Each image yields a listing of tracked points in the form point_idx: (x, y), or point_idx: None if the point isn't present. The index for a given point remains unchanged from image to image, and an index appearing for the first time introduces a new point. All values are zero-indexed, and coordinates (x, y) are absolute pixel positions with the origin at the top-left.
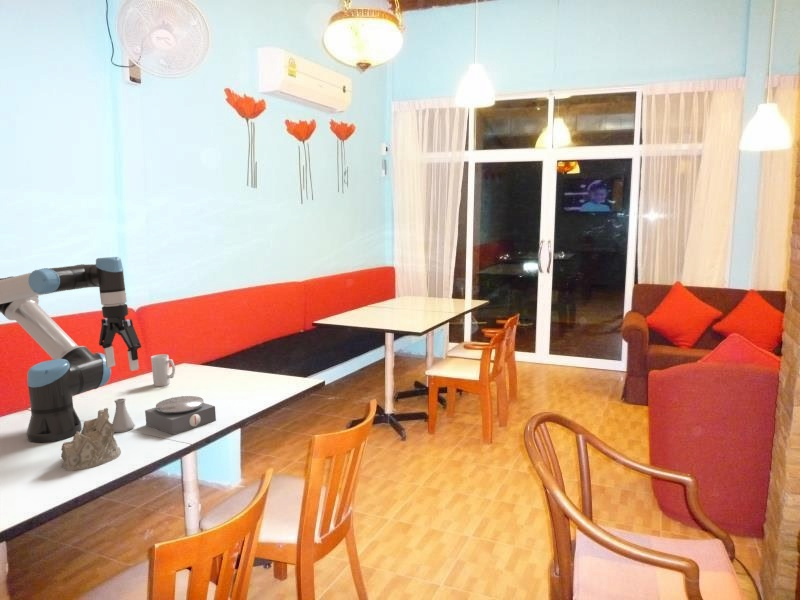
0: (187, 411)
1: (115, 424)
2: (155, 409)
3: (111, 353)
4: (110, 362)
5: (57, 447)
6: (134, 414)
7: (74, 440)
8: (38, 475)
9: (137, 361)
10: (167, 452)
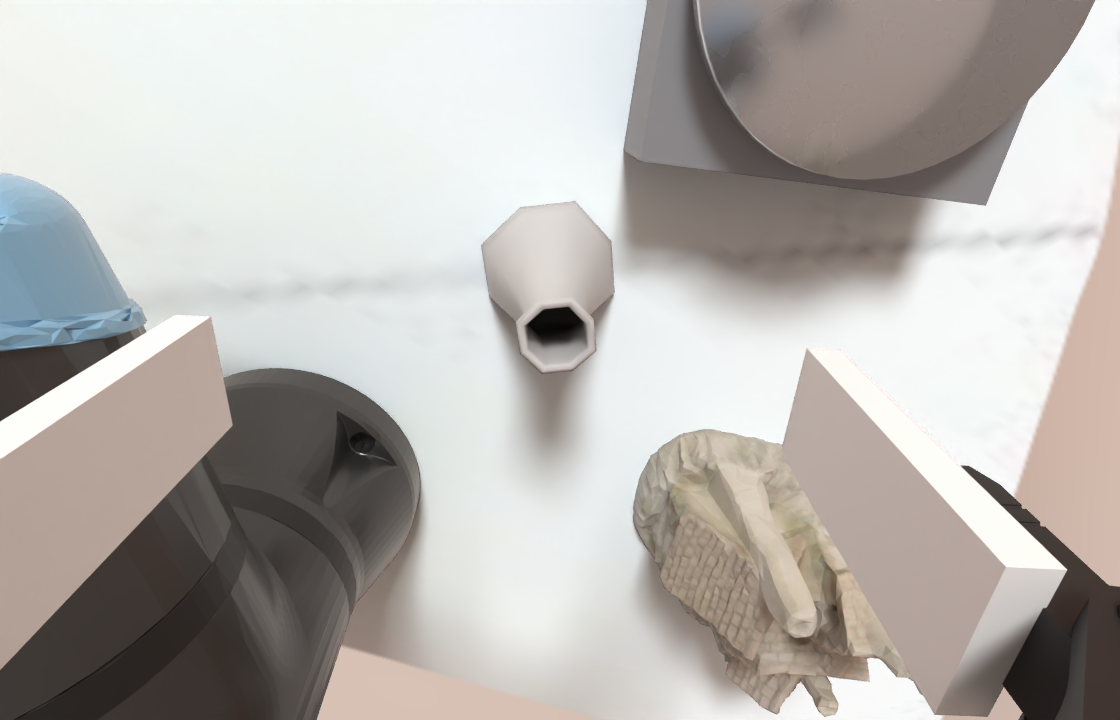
0: None
1: (558, 329)
2: (699, 103)
3: (71, 469)
4: (186, 414)
5: (496, 547)
6: (346, 38)
7: (793, 685)
8: (698, 678)
9: (893, 417)
10: (1041, 360)
